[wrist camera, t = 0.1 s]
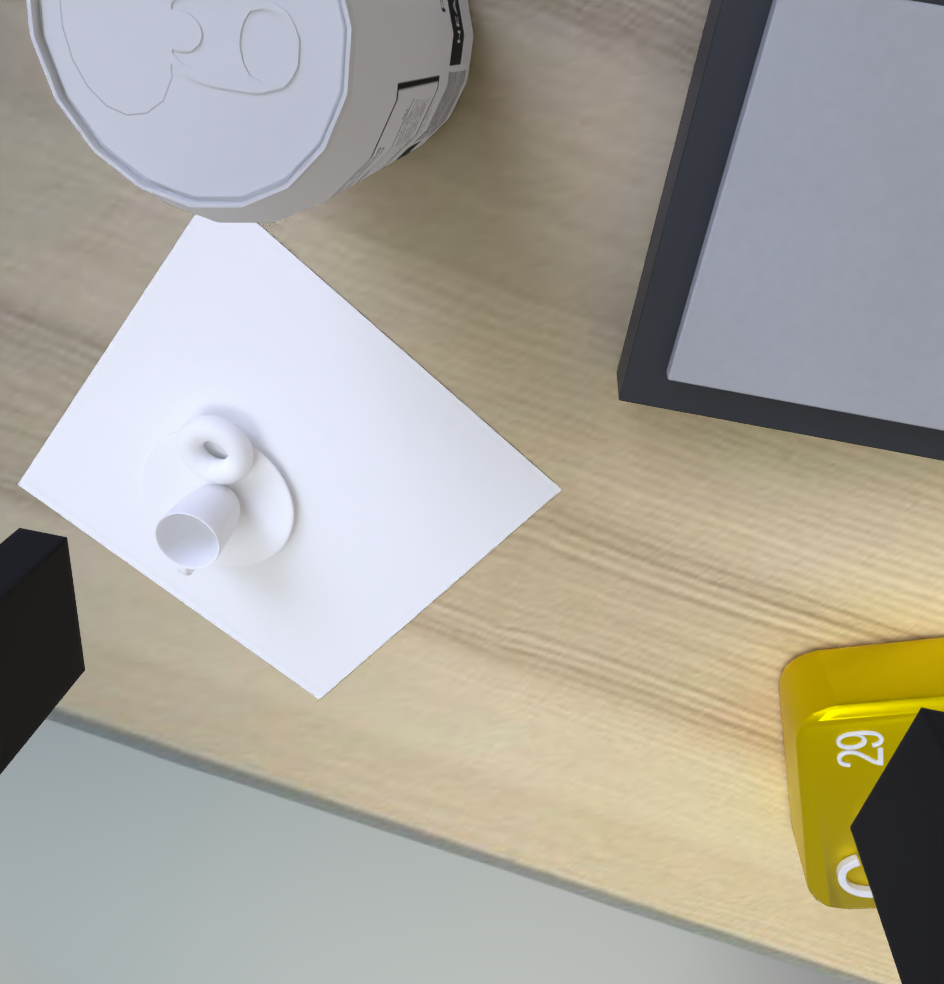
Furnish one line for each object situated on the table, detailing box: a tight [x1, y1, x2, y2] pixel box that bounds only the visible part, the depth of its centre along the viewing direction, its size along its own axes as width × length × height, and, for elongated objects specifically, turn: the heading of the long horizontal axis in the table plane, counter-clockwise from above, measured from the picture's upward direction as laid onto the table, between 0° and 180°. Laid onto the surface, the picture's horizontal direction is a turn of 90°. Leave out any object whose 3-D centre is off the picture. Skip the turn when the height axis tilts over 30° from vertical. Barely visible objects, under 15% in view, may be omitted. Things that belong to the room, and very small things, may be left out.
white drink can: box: [26, 0, 474, 223], centre depth 23 cm, size 8×8×15 cm
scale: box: [617, 0, 944, 461], centre depth 28 cm, size 16×16×4 cm
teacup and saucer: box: [139, 414, 295, 577], centre depth 38 cm, size 9×8×4 cm
